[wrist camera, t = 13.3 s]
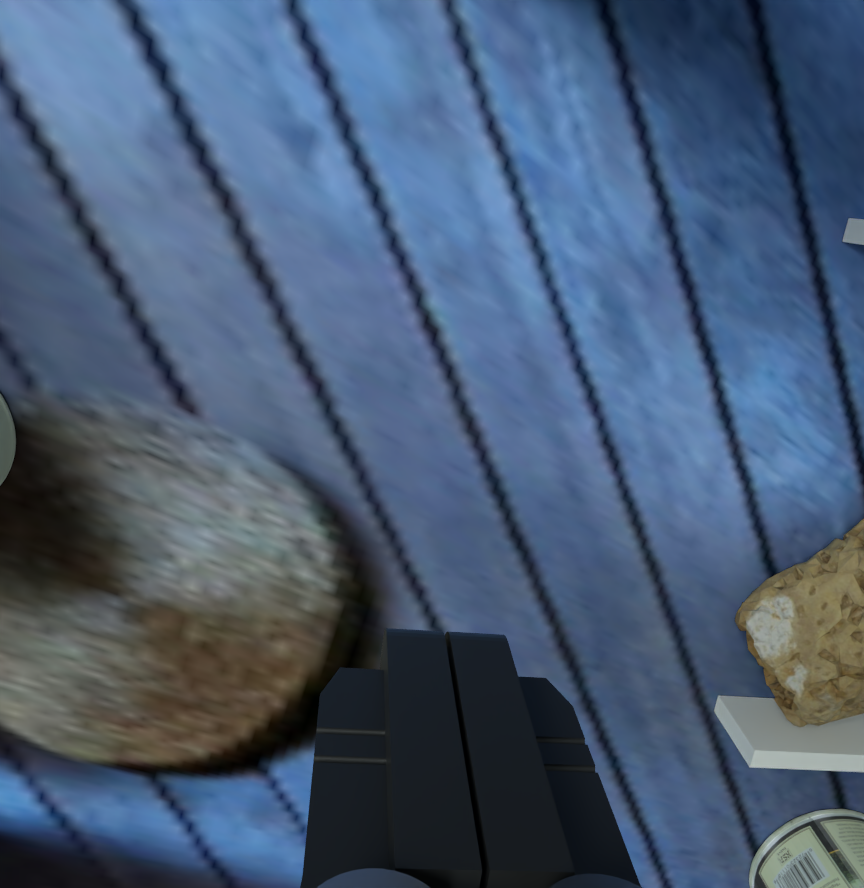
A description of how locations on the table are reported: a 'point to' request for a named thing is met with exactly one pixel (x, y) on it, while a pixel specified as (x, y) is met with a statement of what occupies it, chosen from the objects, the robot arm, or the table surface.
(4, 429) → the pillar candle
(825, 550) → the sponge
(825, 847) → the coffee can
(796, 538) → the table surface
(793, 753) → the box
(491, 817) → the robot arm
